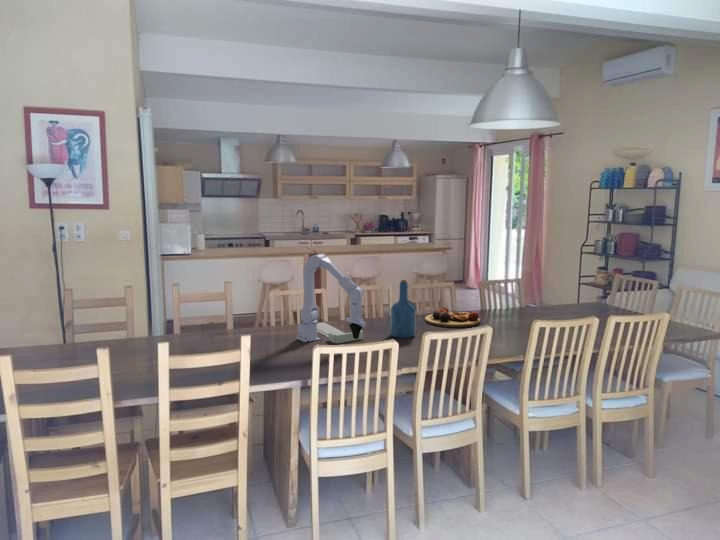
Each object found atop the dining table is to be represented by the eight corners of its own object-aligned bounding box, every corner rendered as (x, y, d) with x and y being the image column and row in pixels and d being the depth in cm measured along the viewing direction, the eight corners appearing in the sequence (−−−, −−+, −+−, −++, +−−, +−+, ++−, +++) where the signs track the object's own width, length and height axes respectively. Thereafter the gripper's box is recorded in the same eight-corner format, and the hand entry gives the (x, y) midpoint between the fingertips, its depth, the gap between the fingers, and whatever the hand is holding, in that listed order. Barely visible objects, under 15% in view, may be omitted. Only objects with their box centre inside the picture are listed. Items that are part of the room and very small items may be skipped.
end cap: (335, 343, 265) (335, 335, 265) (328, 340, 271) (328, 332, 271) (364, 338, 275) (364, 331, 275) (356, 335, 281) (356, 328, 280)
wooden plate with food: (490, 321, 315) (490, 307, 314) (461, 331, 291) (462, 316, 290) (444, 314, 336) (444, 301, 335) (414, 322, 313) (414, 308, 312)
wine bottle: (386, 337, 278) (386, 280, 274) (395, 331, 290) (396, 276, 286) (411, 340, 272) (412, 282, 268) (419, 334, 284) (420, 278, 280)
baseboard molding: (327, 340, 274) (348, 337, 280) (327, 334, 274) (348, 332, 279) (304, 327, 301) (323, 324, 307) (304, 322, 301) (323, 319, 306)
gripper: (371, 313, 260) (371, 340, 262) (354, 308, 272) (354, 334, 274) (359, 314, 256) (359, 342, 258) (342, 309, 268) (342, 336, 270)
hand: (356, 338), depth 266 cm, fingers closed
